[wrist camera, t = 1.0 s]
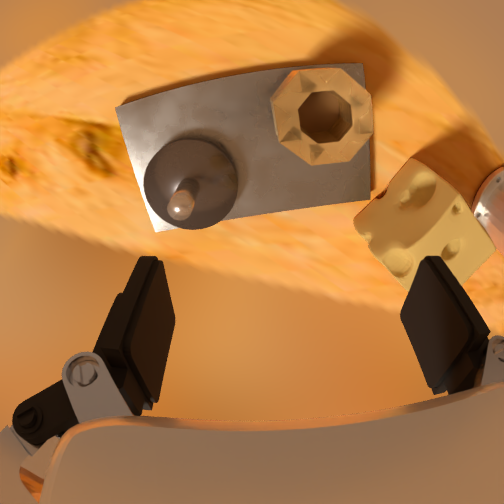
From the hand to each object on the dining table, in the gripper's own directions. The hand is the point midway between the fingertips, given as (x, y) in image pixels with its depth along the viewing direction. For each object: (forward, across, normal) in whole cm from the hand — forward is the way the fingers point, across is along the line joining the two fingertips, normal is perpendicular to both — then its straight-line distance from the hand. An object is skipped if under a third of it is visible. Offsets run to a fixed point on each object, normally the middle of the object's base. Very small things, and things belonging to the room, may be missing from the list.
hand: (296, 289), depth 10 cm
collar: (+17, -4, -4) cm, 17 cm away
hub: (+21, +7, +4) cm, 22 cm away
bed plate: (+21, +2, 0) cm, 21 cm away
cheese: (+21, -17, +7) cm, 28 cm away
